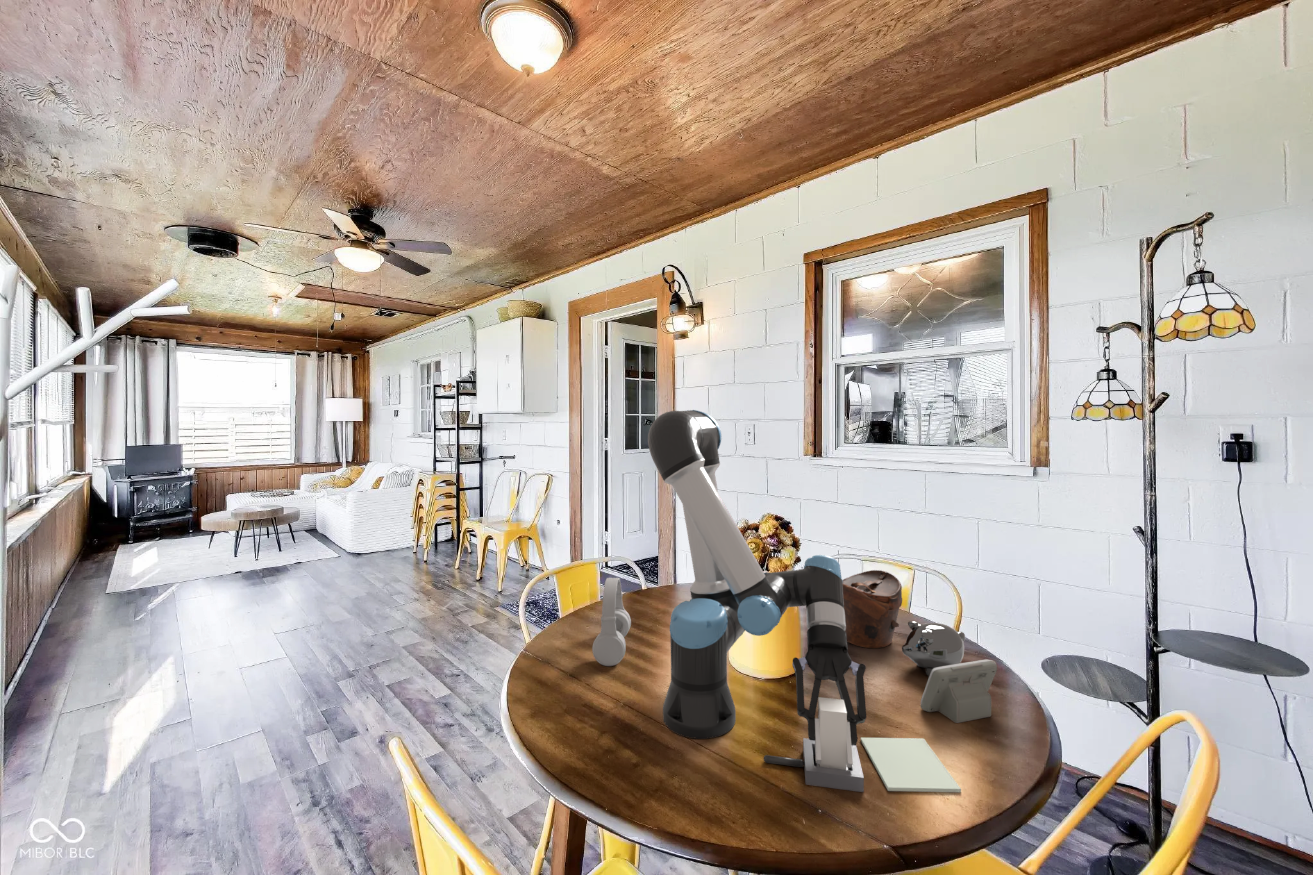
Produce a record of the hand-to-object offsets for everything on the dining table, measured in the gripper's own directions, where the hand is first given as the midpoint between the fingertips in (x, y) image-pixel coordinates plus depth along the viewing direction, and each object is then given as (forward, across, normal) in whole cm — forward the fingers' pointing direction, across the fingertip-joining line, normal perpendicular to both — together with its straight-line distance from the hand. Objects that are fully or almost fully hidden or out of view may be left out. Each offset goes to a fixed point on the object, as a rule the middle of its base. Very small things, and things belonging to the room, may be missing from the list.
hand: (834, 763), depth 93 cm
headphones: (-28, +53, -34) cm, 68 cm away
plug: (0, 0, -5) cm, 5 cm away
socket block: (0, +4, -5) cm, 6 cm away
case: (-42, -15, -48) cm, 65 cm away
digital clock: (-18, -28, -24) cm, 41 cm away
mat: (-3, -13, -8) cm, 16 cm away
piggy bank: (-31, -28, -36) cm, 55 cm away
